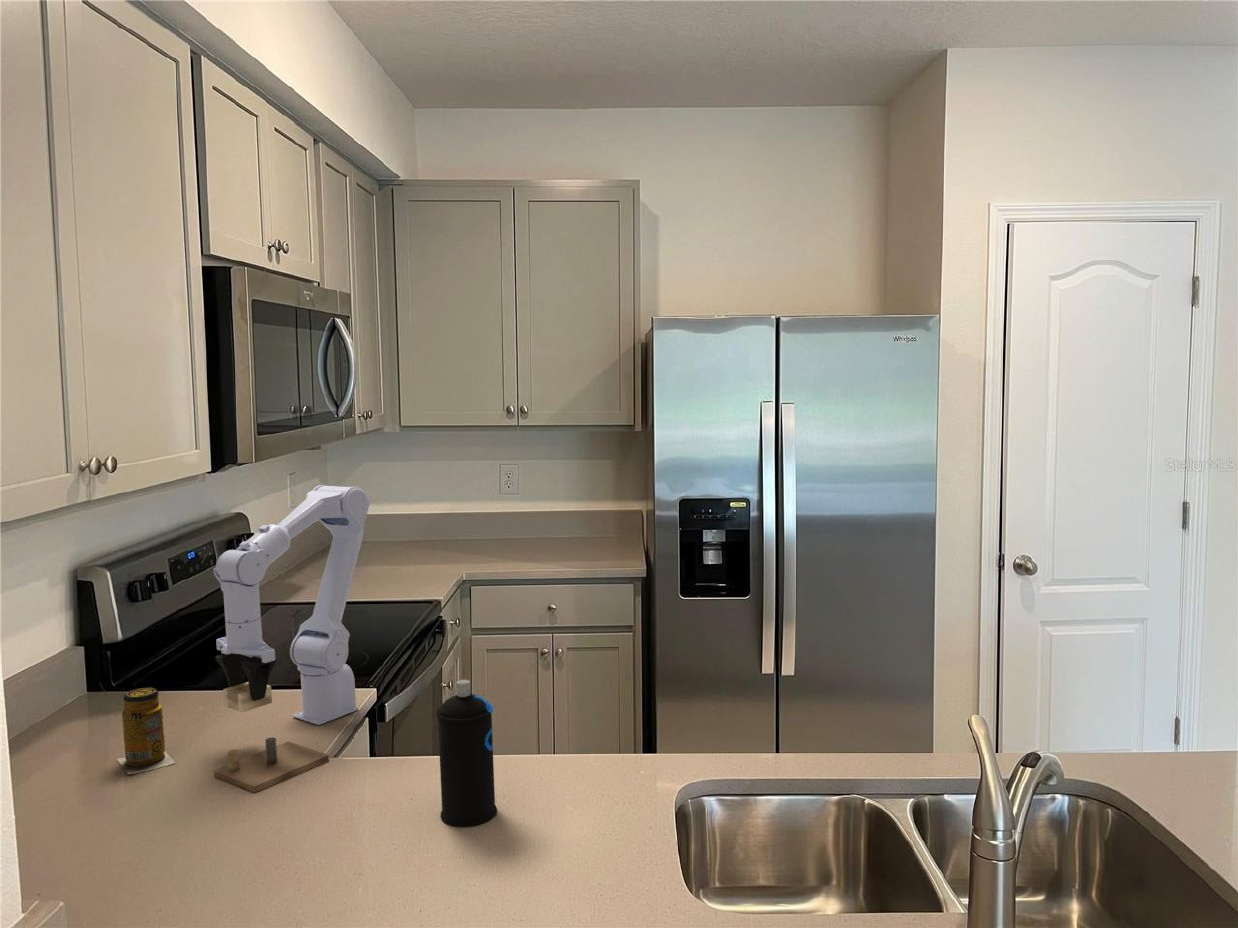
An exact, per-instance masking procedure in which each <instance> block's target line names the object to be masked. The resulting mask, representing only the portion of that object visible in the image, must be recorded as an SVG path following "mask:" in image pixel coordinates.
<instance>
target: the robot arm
mask: <svg viewBox="0 0 1238 928" xmlns="http://www.w3.org/2000/svg"><path fill="white" fill-rule="evenodd" d="M368 499H369V498H367V495H366V493H365V492H364V490H363V489H362V488H361V487H360V486H356V485H355V486H339V485H338V486H337V485H336V486H335V485H326V484H320V485H317V486H315V487H314V488H313V490H310V491H309V492H307V493H306V497H305V499H304V500H303V501H302V502H301V503H300V504H299V505H298V506H297V507H296V508H295V509H293V510H292V511H291V512H290V513H289V514H287V516H286V517H285V518H283V520H282V519H281V521H280V522H279V523H278V524H274V523H273V524H271V523H270V524H267V525H266V524H262V525H260V526H259V528H258V531H257V532H256V533H254V534H253V535H252V536H251V537H249V538H248V539H247V540H246V541H241V543H239V546H238V547H237V548H236V549H229V550H226V551H224V552H223V553H222V554H221V555H220V556H219V557H218V558H217V560H216V563H215V564H216V565H215V567H214V568H213V575H214V577H215V578H216V579H217V581H218V582H219V584H220V591H222V593H223V606H224V623H225V636H224V637H223V636H222V637H220V638H219V637H218V638H217V639H216V650H217V651H220V652H221V653H220V654H218V655H215V661H216V662H217V663H218V665H219V666H220V668H221V669H222V671H223V673H224V676H225V678H226V682H227V685H228V688H229V687H233V686H236V685H239V684H243V683H246V678H247V682H248V683H249V690H250V695H251V698H252V700H253V701H256V700H259V699H262V698H265V694H266V689H267V685H269V684H268V683H269V679H270V676H271V674H272V671H273V669H274V667H275V664H276V663H277V657H276V650H275V648H272V647H270V646H269V645H268V644H267V643H266V642H265V641H264V640H263V632H262V616H261V614H262V613H261V600H260V582H261V581H262V580H263V579H264V577H265V574H266V571H267V569H268V568H269V567H270V565H271V564H272V563H273V562H275V561H276V560H277V559H278V558H280V557H281V556H282V555H283V554H284V553H286V551H287V552H288V550H289V549H290V547H291V540H292V539H293V538H294V537H296V536H298V535H299V534H300V533H302V532H303V531H305V530H306V529H308V528H309V527H310V526H311V525H313V524H315V523H316V522H317V521H319V522H321V524H322V525H323V526H324V527H325V528H326V529H327V530H329V532H330V534H331V535H332V540H331V544H330V548H329V552H328V556H327V560H326V563H325V568H324V571H323V575H322V577H321V578H322V579H321V583H320V586H319V589H318V593H317V598H316V601H315V604H314V608H313V612H312V615H311V616H310V617H309V618H308V619H306V620H305V621H304V622H302V623H300V625H299V628H298V631H297V634H296V635H295V637H294V638H293V640H292V642H291V645H290V648H289V656H290V659H291V661H292V663H294V664H295V665H296V666H297V671H299V672H300V686H301V689H300V690H301V703H302V710H301V711H299V712H296V713H293V715H292V717H293V718H294V719H295V718H296V719H299V720H302V721H305V722H307V723H311V724H315V725H322V724H324V723H328V722H330V721H333V720H335V719H338V718H341V717H343V716H346V715H348V714H350V713H354V712H356V711H358V710H359V709H360V708H359V706H357V700H356V699H357V697H356V685H355V684H356V683H355V680H356V679H355V676H354V673H353V670H352V668H351V666H350V665H348V664H346V662H347V660H348V656H349V639H350V635H351V634H350V632H349V630H347V628H346V627H345V626H344V624H343V623H342V620H343V615H344V612H345V608H346V604H347V602H348V601H347V600H348V596H349V594H350V588H351V585H352V581H353V577H354V574H355V573H354V572H355V569H356V565H357V561H358V557H359V553H360V550H361V546H362V543H363V542H362V541H363V538H364V535H365V534H364V533H365V532H364V531H365V523H366V519H367V516H368V513H369V512H368V511H369V507H370V502H369V500H368ZM322 634H324V635H322ZM249 658H251V659H250V660H249Z"/></svg>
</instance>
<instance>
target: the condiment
mask: <svg viewBox="0 0 1238 928" xmlns="http://www.w3.org/2000/svg"><path fill="white" fill-rule="evenodd" d="M123 708H124V709H123V710H122V713H121V716H122V731H123V743H124V744H123V745H124V754H125V755H124V756H125V757H121V758H117V759H116V761H117V762H118V763H119V765H120V766H121V767H122V769H123V770H124V772H126V774H127V775H132V774H134V775H135V774H138V773H142V772H147V771H151V770H154V769H155V770H157V769H159V768H163V767H166V766H169V765H173V764H176V762H175V760H174V758H172V756H170V755H169V753H167V751H166V750H165V749H166V744H165V742H166V741H165V733H164V720H163V718H164V717H163V707H162V704H160V698H159V691H158V689H157V688H153V687H142V688H137V689H132V690H129V691H128V692H127V693H125V694H124V696H123Z"/></svg>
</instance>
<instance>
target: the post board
mask: <svg viewBox="0 0 1238 928" xmlns="http://www.w3.org/2000/svg"><path fill="white" fill-rule="evenodd" d="M239 756H240V755H239V749H231V750H229V751H227V763H228V764H227V765H225V766H222V767H219V768H217V769H214V770H213V772H214V778H217V779H221V781H224V782H227V783H230V784H232V785H234V786H237V787H240V788H243V789H244V790H247V791H249V792H252V793H254V794H255V793H258V792H260V791H261V790H262V791H263V790H264V789H267V788H269V787H271V786H274V785H276V784H277V783H280V782H282V781H286V780H287V779H290V778H292V777H295V776H297V775H299V774H302V773H303V772H306V771H308V770H310V769H312V768H315V767H316V768H317V766H320V765H322V764H324V763H327V762H329V761H330V760H329V758H330V757H329V755H328V754H326V753H324V752H320V751H318V750H315V749H312V748H308V747H306V746H303V745H300V744H297V743H294V742H291V741H285V742H284V743H281V744H278V745H277V737H273V736H271V737H268V738H266V739H265V750H263V751H260V752H257V753H255V754H252V755H250V756H247V757H245V758H242V759H240V758H239Z"/></svg>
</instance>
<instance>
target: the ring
mask: <svg viewBox="0 0 1238 928" xmlns="http://www.w3.org/2000/svg"><path fill="white" fill-rule="evenodd" d="M222 691H223V692H222V693H223V706H224V707H225V708H228V709H232V710H234V711H237V712H240V713H245V712H246V713H247V712H248V711H250V710H255V709H258V708H261V707H264V706H267V705H269V704H272V703H273V700H272V697H273V696H272V685H269V684H267V689H266V694H265V698H262V699H259V700H256V701H253V700H252V698H251V695H250V690H249V683H248V681H245V683H243V684H239V685H236V686H233V687H229V686H228V687H226V688H223V690H222Z"/></svg>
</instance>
